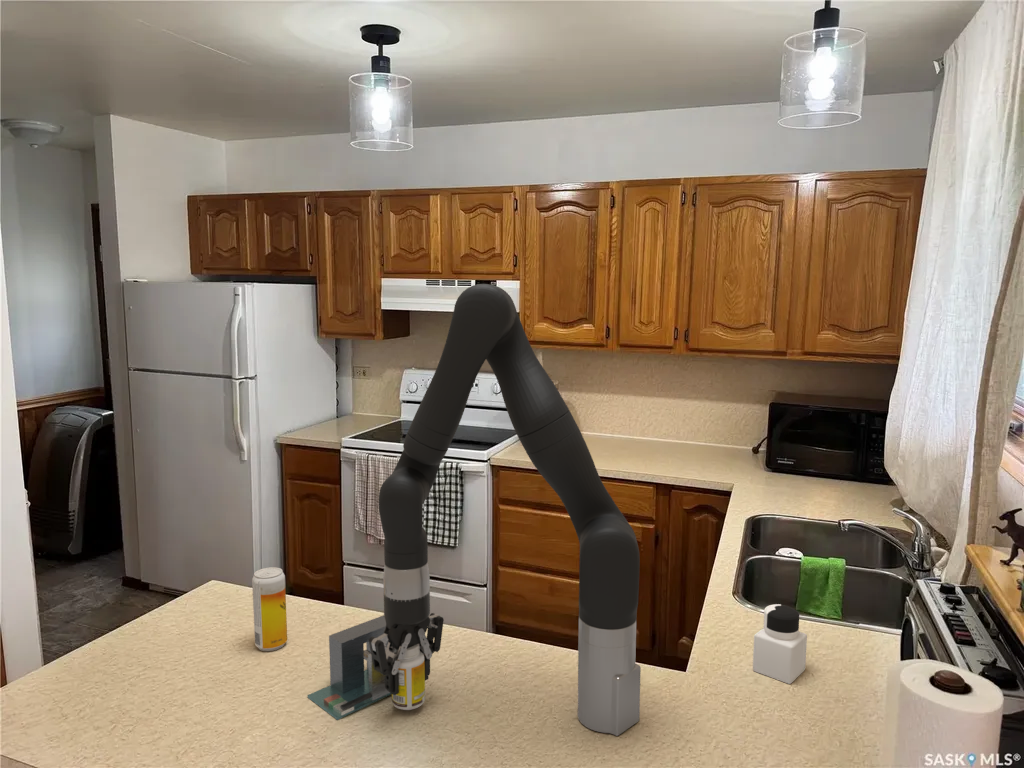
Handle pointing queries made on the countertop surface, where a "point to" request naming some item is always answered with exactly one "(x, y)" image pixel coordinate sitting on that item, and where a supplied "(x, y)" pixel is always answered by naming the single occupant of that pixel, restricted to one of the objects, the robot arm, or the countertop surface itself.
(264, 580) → the beer can
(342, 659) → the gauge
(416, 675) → the supplement bottle
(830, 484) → the countertop surface
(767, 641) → the medicine bottle
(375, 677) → the grey plate with rod
